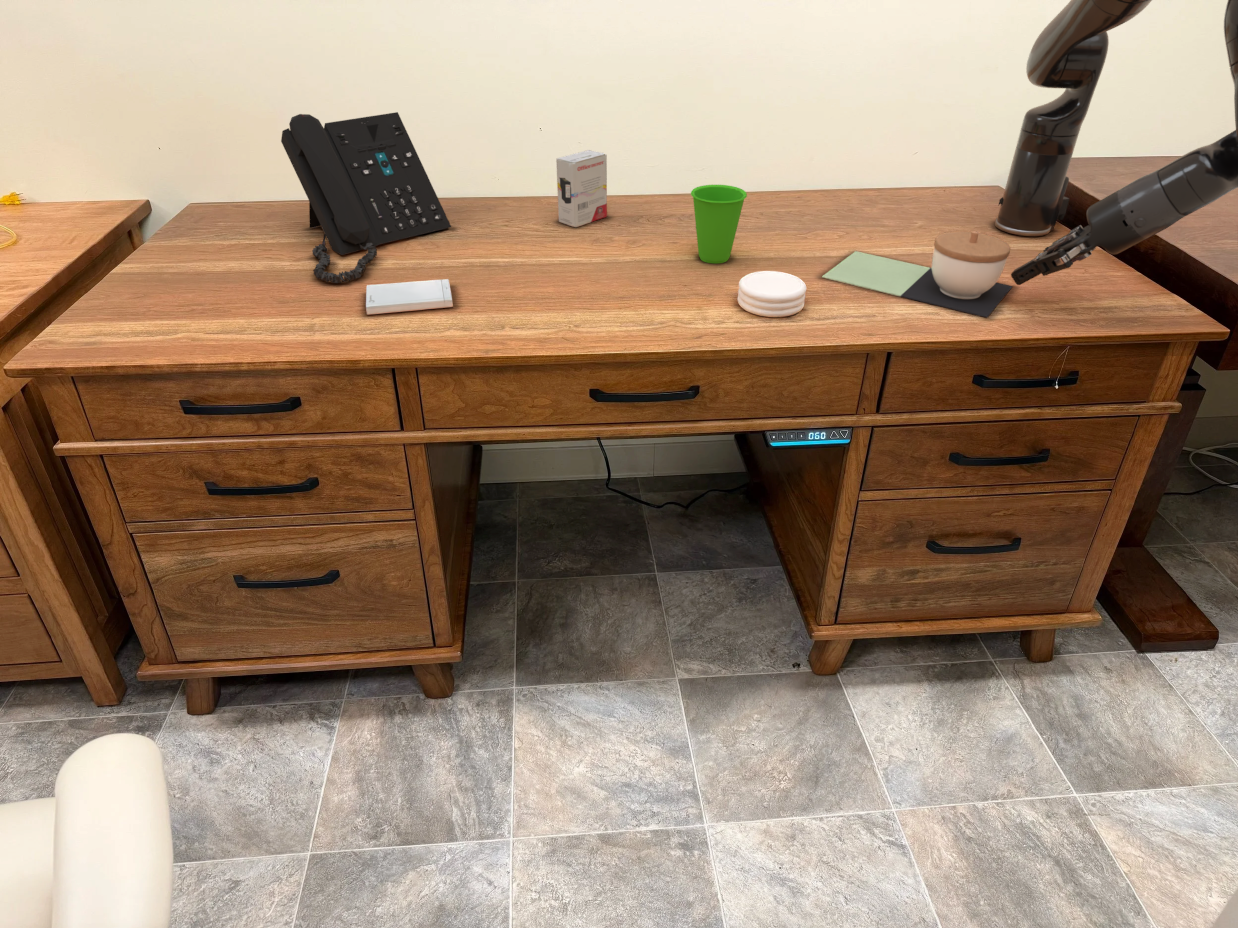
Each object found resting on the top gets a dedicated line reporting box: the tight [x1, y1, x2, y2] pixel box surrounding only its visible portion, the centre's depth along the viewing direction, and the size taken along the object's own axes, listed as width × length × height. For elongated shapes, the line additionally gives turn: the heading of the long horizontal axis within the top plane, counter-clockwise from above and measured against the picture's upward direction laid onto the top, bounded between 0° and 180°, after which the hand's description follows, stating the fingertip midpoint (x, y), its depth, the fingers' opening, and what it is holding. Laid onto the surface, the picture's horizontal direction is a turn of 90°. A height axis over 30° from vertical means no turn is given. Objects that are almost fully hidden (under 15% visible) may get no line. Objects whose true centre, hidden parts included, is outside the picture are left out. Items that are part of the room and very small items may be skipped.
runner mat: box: [821, 250, 1013, 319], centre depth 133 cm, size 26×14×1 cm, turn 55°
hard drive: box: [365, 278, 454, 316], centre depth 126 cm, size 2×8×12 cm
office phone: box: [280, 111, 452, 284], centre depth 141 cm, size 29×28×20 cm
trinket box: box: [931, 230, 1011, 299], centre depth 127 cm, size 11×11×9 cm
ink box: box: [555, 149, 608, 228], centre depth 154 cm, size 9×5×12 cm, turn 136°
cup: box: [690, 184, 748, 264], centre depth 138 cm, size 9×9×11 cm
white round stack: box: [736, 270, 807, 318], centre depth 125 cm, size 10×10×4 cm
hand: (1014, 278), depth 124 cm, fingers closed
